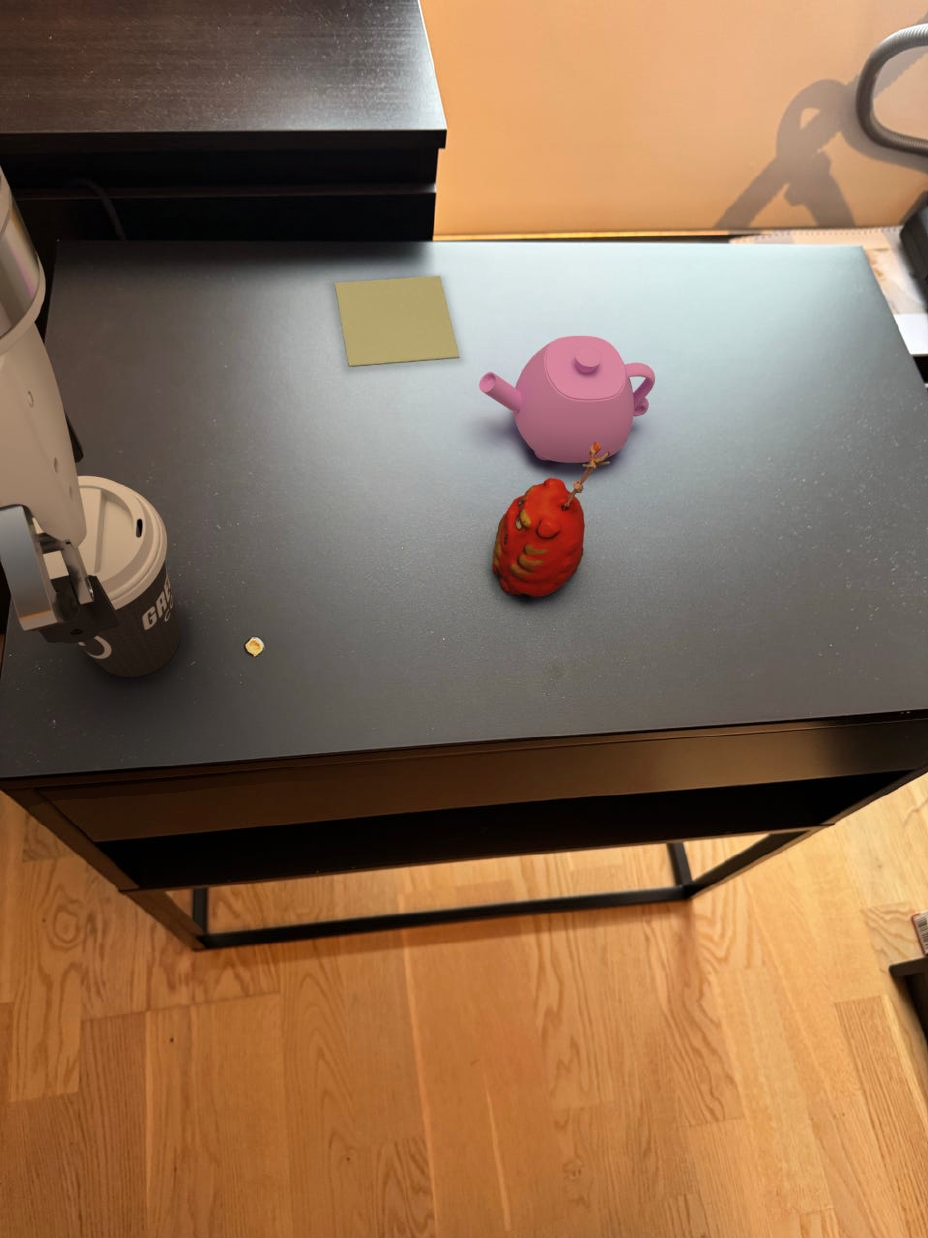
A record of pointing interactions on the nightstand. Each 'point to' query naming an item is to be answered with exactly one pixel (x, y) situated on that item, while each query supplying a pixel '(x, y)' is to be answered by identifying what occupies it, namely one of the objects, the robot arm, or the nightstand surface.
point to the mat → (395, 321)
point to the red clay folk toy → (542, 536)
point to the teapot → (574, 398)
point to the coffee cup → (126, 577)
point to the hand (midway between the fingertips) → (67, 542)
